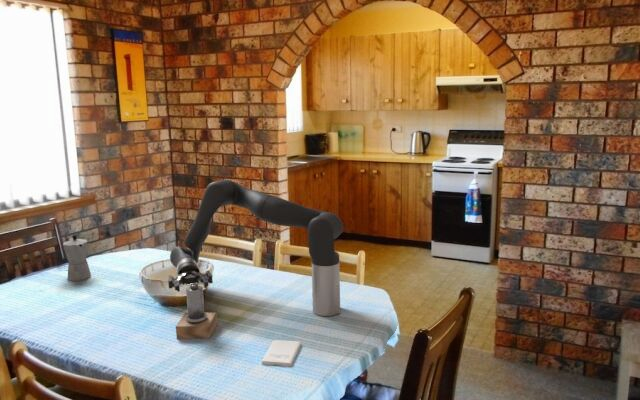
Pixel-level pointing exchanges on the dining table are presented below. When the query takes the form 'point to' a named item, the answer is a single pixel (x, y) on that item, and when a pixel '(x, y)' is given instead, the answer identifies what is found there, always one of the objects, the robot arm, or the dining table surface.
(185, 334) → the stand
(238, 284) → the dining table surface
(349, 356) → the dining table surface
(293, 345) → the external hard drive
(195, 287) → the cylinder
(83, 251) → the coffeepot
